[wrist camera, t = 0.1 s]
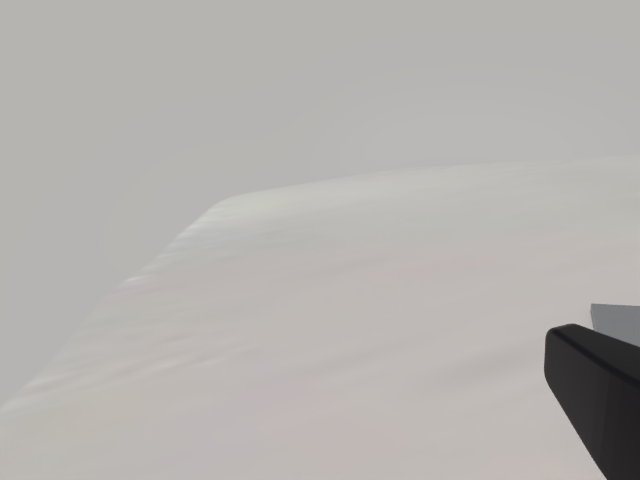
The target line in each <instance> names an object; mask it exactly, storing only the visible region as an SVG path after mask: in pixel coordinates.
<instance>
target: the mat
mask: <svg viewBox="0 0 640 480" xmlns="http://www.w3.org/2000/svg"><path fill="white" fill-rule="evenodd" d="M591 316H592V322H593V327H594V331H597V332H600V333H602V334H605V335H608V336H611V337H614V338H616V339H619V340H622V341H625V342H628V343H630V344H633V345H636V346H639V347H640V306H625V305H607V304H591Z"/></svg>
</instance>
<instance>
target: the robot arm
mask: <svg viewBox="0 0 640 480" xmlns="http://www.w3.org/2000/svg"><path fill="white" fill-rule="evenodd" d="M544 373H545V378H546V381H547V383H548V385H549V387H550V389H551V390H552V392H553V394H554V395H555V397H556V399H557V400H558V402H559V404H560V405H561V407H562V409H563V410H564V412H565V414H566V415H567V417H568V419H569V420H570V422H571V424H572V425H573V427H574V429H575V430H576V432H577V434H578V435H579V437H580V439H581V440H582V442H583V444H584V445H585V447H586V449H587V450H588V452H589V454H590V455H591V457H592V458H593V460H594V461H595V463H596V465H597V466H598V468H599V469H600V470H601V472H602V473H603V475H604V476H605V477H606V479H607V480H640V347H639V346H636V345H633V344H630V343H628V342H625V341H622V340H619V339H616V338H614V337H611V336H608V335H605V334H602V333H600V332H597V331H594V330H591V329H588V328H585V327H583V326H580V325H577V324H566V325H562V326H558V327H554V328H551V329H550V330H548V332H547V334H546V341H545V360H544Z"/></svg>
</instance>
